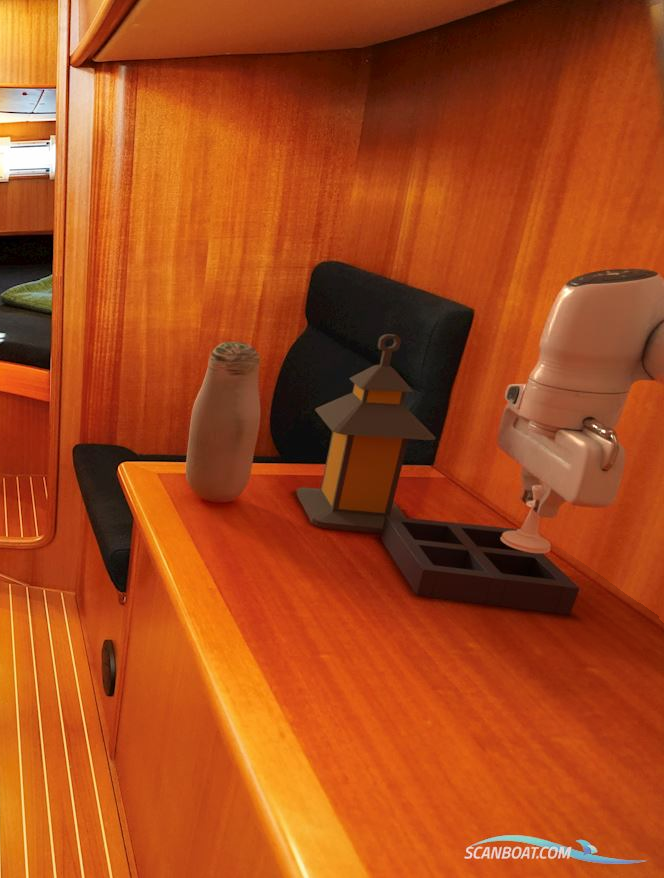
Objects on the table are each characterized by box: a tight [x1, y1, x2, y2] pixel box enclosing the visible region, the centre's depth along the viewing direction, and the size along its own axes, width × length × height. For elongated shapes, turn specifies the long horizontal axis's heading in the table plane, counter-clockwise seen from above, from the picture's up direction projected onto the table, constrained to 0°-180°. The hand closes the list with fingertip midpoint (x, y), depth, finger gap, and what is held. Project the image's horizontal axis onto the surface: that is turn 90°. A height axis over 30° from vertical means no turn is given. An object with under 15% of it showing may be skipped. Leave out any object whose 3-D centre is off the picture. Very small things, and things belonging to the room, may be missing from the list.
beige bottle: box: [185, 341, 261, 504], centre depth 118 cm, size 10×10×28 cm
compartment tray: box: [379, 516, 580, 616], centre depth 97 cm, size 16×16×4 cm
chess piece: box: [500, 480, 551, 554], centre depth 89 cm, size 5×5×10 cm
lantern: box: [296, 333, 436, 535], centre depth 111 cm, size 14×14×30 cm
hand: (536, 509), depth 89 cm, fingers closed on chess piece
